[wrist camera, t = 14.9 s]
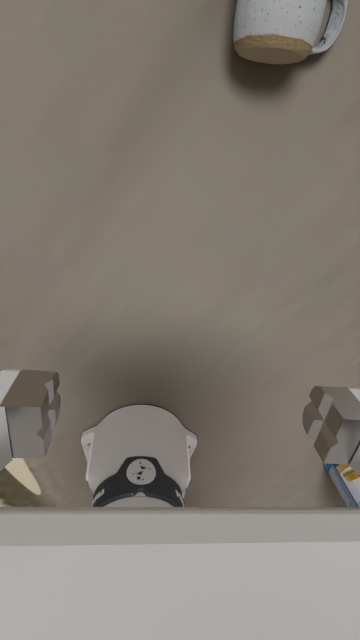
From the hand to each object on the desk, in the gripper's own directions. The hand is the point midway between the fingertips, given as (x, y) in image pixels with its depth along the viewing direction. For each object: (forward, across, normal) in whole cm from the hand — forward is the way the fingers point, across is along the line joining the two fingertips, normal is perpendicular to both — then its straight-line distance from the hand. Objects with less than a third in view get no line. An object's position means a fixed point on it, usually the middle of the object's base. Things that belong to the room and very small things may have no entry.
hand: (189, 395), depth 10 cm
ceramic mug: (+31, -9, -20) cm, 38 cm away
